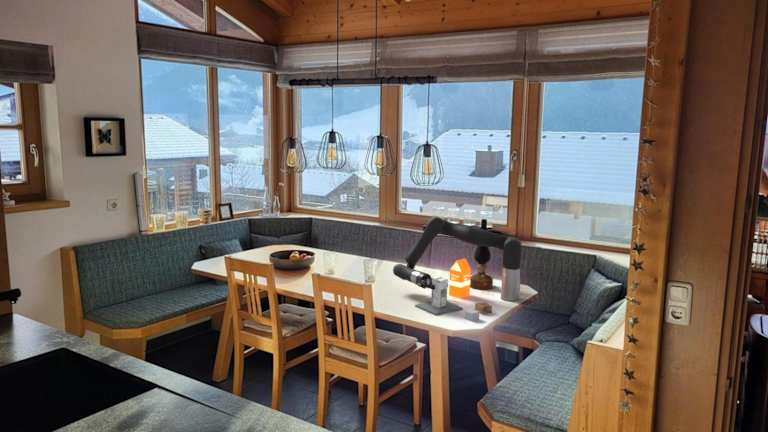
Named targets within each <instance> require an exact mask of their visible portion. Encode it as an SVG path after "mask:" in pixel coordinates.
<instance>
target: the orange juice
mask: <svg viewBox="0 0 768 432" xmlns="http://www.w3.org/2000/svg"><path fill="white" fill-rule="evenodd" d="M471 271H472V270H471V266H470V265H469V262H468V261H467V258H466V257H465V258H461V259H458V260H457V259H456V260H455V261H454V264H453V265H452V266H451V268H450V269H449V280H448V289H449V291H448V296H451V297H455V298H459V299H462V298H466V297H467V296H470V295H471V294H470V293H471V292H470V289H471V288H470V277H471V276H472V275H471Z"/></svg>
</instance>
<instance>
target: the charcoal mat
mask: <svg viewBox="0 0 768 432" xmlns="http://www.w3.org/2000/svg"><path fill="white" fill-rule="evenodd" d="M414 307H416V308H418V309H420V310H422V311H424V312H427V313H429V314H431V315H433V316H439V315H444V314H448V313H452V312H457V311H461V310H462V311H463V306H460V305H458V304H455V303H452V302H450V301H448V300H447V302H446V306H444V307H441V308H438V307H434V306H431V301H426V302H423V303H422V302H420V303H417V304H414Z"/></svg>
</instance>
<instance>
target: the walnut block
mask: <svg viewBox="0 0 768 432" xmlns="http://www.w3.org/2000/svg"><path fill="white" fill-rule="evenodd" d="M474 310H476V311H479V315H487V314H488V313H489V314H492V312H493V311H492V310H493V305H491V304H490V303H488V302H486V301H485V302H477V303H474Z"/></svg>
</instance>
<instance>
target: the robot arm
mask: <svg viewBox="0 0 768 432" xmlns="http://www.w3.org/2000/svg"><path fill="white" fill-rule="evenodd" d="M438 235H441V236H447V237H451V238H453V239H456V240H458V241H461V242H464V243H467V244H471V245H473V246H474V245H475V246H488V248H490V247H491V248H497V249H499V250H502V268H501V269H502V272H501V273H502V274H501V287H500V288H501V291H500V299H501V300H503V301H508V302H516V301H518V300H519V299H520V297H521V296H520V295H521V294H520V293H521V281H520V276H521V275H520V273H521V260H522V247H523V246H522V242H521V240H520V239H519V238H518V237H514V236H509V235H503V234H499V233H495V232H492V231H489V230H487V231H486V230H483V229H481V227H476V226H472V225H471V226H470V225H467V224H458V223H453V222H451V221H448V220H445V219H443V218H441V217H438V216H435V217H431V218H430V219H429V220H428V221H427V224H426V226H425V228H424V231H423V232H422V233H421V235H420V237H419V238H418V239H417V241H416V242H415V244H414V245H413V246H412V247H411V248H410V250H409V251H408V253H407V254H406V255H405V257H404V260H405V262H406V265H405V264H403V263H397V264H395V265H394V266H393V268H392V272H393V275H395V276H396V277H398V278H399V279H401V280H403V281H407V282H409V283H411V284H414V285H416V286H418V287H419V288H422V289H430V290H431V291H432V290H435V285H432V279H433V278H434V277H432V275H430V274H429V273H426V272H423V271H421V270H417V269H415V267H416V265H417V263H418V262H419V260H420V259H421V258H422V256H423V255H424V254H425V252H426V250H427V248H428V247H429V246H430V243H432V241H433V240H434V239H435V238H436V237H437V236H438ZM447 288H449V284H448V285H447Z"/></svg>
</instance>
